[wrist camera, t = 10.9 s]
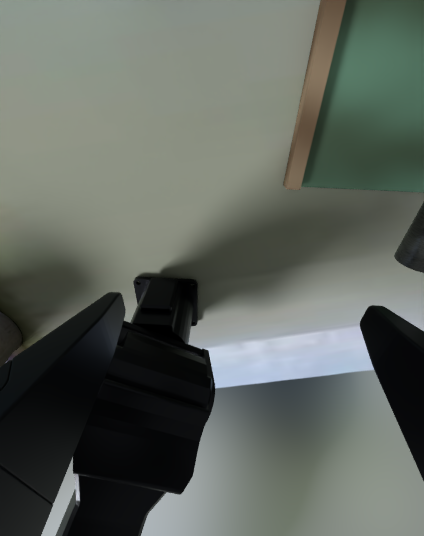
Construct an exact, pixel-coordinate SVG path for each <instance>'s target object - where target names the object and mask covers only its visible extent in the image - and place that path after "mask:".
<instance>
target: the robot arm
mask: <svg viewBox="0 0 424 536" xmlns="http://www.w3.org/2000/svg"><path fill="white" fill-rule="evenodd" d="M138 281H139V282H141V283H139V282H138ZM191 284H194V285H191ZM134 288H135V293H136V298H137V303H138V306H137V308H136V311H135V313H134V315H133V318H132V320H131V322H130V323H129V322H126V321H124V317H125V306H124V302H123V297H122V294H121V293H119V292H109V293H107V294H106V295H104V296H103V297H101V298H100V299H98V300H97V301H95V302H94V303H92V304H91V305H90V306H88V307H87V308H85V309H84V310H82V311H81V312H79V313H78V314H77V315H75V316H74V317H72V318H71V319H69V320H68V321H66V322H65V323H63V324H62V325H61V326H59V327H58V328H56V329H55V330H53V331H52V332H50V333H49V334H47V335H46V336H45V337H43V338H42V339H40V340H39V341H37V342H36V343H34V344H33V345H31V346H30V347H29V348H27V349H26V350H24V351H23V352H21V353H20V354H18V355H17V356H15V357H14V358H13V359H12V360H10V361H8V362H7V363H5V364H4V365H2V366H1V367H0V536H41V534H42V532H43V529H44V527H45V524H46V522H47V519H48V517H49V514H50V512H51V509H52V507H53V503H54V501H55V499H56V496H57V494H58V491H59V489H60V486H61V484H62V482H63V479H64V477H65V474H66V472H67V469H68V467H69V464H70V462H71V459H72V457H73V473H74V474H75V491H74V493H73V496H72V498H71V500H70V503H69V505H68V508H67V510H66V512H65V515H64V517H63V520H62V522H61V524H60V527H59V529H58V531H57V534H56V536H141V533H142V529H143V526H144V523H145V520H146V518H147V515H148V513H149V512H150V511H151V510H152V509H153V507H154V506H155V505H156V504H157V503H158V502H159V500H160V499H161V498H162V497H163V496H164V494H165V493H166V492H169V493H174V494H181V493H182V492H183V491H184V489H185V488H186V486H187V484H188V483H189V481H190V479H191V478H192V476H193V472H194V466H195V461H196V456H197V451H198V446H199V442H200V438H201V435H202V432H203V429H204V426H205V423H206V422H207V420H208V418H209V416H210V413H211V410H212V407H213V403H214V397H215V383H214V378H213V372H212V367H211V362H210V357H209V352H208V350H205V349H199V348H197V347H194V346H191V345H189V344H188V342H189V335H190V328H191V326H196V325H197V321H198V283H197V281H196V280H191V279H173V278H152V277H136V278H135V280H134ZM360 328H361V331H362V334H363V337H364V340H365V344H366V347H367V350H368V353H369V356H370V359H371V362H372V365H373V367H374V370H375V372H376V375H377V377H378V379H379V381H380V384H381V386H382V388H383V390H384V393H385V394H386V397H387V399H388V402H389V404H390V406H391V408H392V411H393V413H394V415H395V417H396V420H397V422H398V424H399V426H400V429H401V431H402V433H403V435H404V438H405V440H406V442H407V444H408V447H409V449H410V451H411V453H412V455H413V458H414V460H415V462H416V465H417V467H418V469H419V471H420V474H421V476H422V478H423V481H424V331H422V330H420V329H419V328H417V327H416V326H414V325H412V324H411V323H409V322H408V321H406V320H404V319H403V318H401V317H400V316H398V315H396V314H395V313H393V312H392V311H390V310H388V309H387V308H385V307H383V306H374V305H372V306H369V307H368V308H367V310H366V312H365V314H364V315H363V317H362V319H361V321H360Z"/></svg>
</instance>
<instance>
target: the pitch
mask: <svg viewBox="0 0 424 536" xmlns="http://www.w3.org/2000/svg"><path fill="white" fill-rule="evenodd" d="M283 185H284V186H285V188H286V189H291V190H300V188H301V187H320V188H341V189H362V190H384V191H405V192H424V0H321V1H320V6H319V11H318V16H317V21H316V26H315V31H314V36H313V41H312V46H311V51H310V56H309V61H308V65H307V70H306V75H305V80H304V85H303V90H302V95H301V100H300V105H299V110H298V115H297V120H296V125H295V130H294V135H293V140H292V145H291V149H290V154H289V159H288V164H287V169H286V174H285V179H284V184H283Z"/></svg>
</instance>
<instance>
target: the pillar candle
mask: <svg viewBox="0 0 424 536" xmlns="http://www.w3.org/2000/svg"><path fill="white" fill-rule="evenodd" d="M21 344H22V335H21V332H20V330H19V328H18V327H17V326H16V324H15V323H14V322H12V320H11V319H10V318H9V317H7V316H6V315H5V314H3V313H1V312H0V367H1V366H2V365H4V364H5V362H6V361H7V360H8V358H9V357H10V355H11V354H12V353H13V352H14V351H15V350H17V349H18V348H19V347H20V345H21Z"/></svg>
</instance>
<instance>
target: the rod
mask: <svg viewBox="0 0 424 536" xmlns="http://www.w3.org/2000/svg"><path fill="white" fill-rule="evenodd" d="M394 257H395V259H396V260H397V261H398V262H399V263H401V264H402V265H404V266H406V267H408V268H410V269H413V270H416V271H419V272H423V273H424V202H423V204H422V206H421V208H420V209H419V211H418V213H417V215H416V217H415V218H414V220H413V222H412V224H411V226H410V228H409V229H408V231H407V233H406V235H405V237H404V238H403V240H402V242H401V244H400V246H399V247H398V249H397V251H396V253H395V255H394Z"/></svg>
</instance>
